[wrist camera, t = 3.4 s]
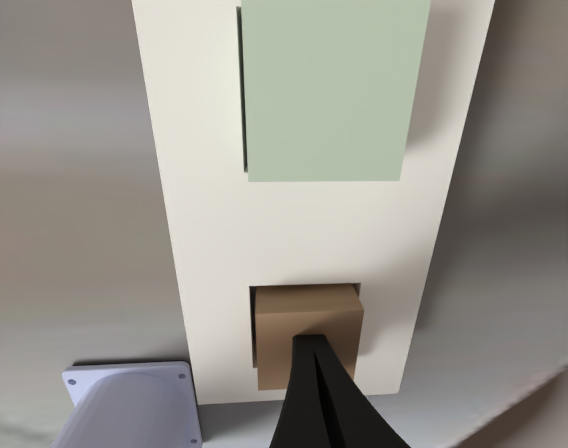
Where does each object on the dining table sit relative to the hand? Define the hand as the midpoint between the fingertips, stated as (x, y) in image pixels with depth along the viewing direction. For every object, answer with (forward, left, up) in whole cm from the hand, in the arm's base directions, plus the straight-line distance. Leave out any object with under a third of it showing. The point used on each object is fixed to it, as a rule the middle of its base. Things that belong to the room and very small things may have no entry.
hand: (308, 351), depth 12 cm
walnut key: (0, 0, -3) cm, 3 cm away
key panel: (+5, 0, -5) cm, 7 cm away
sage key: (+10, 0, -2) cm, 10 cm away
